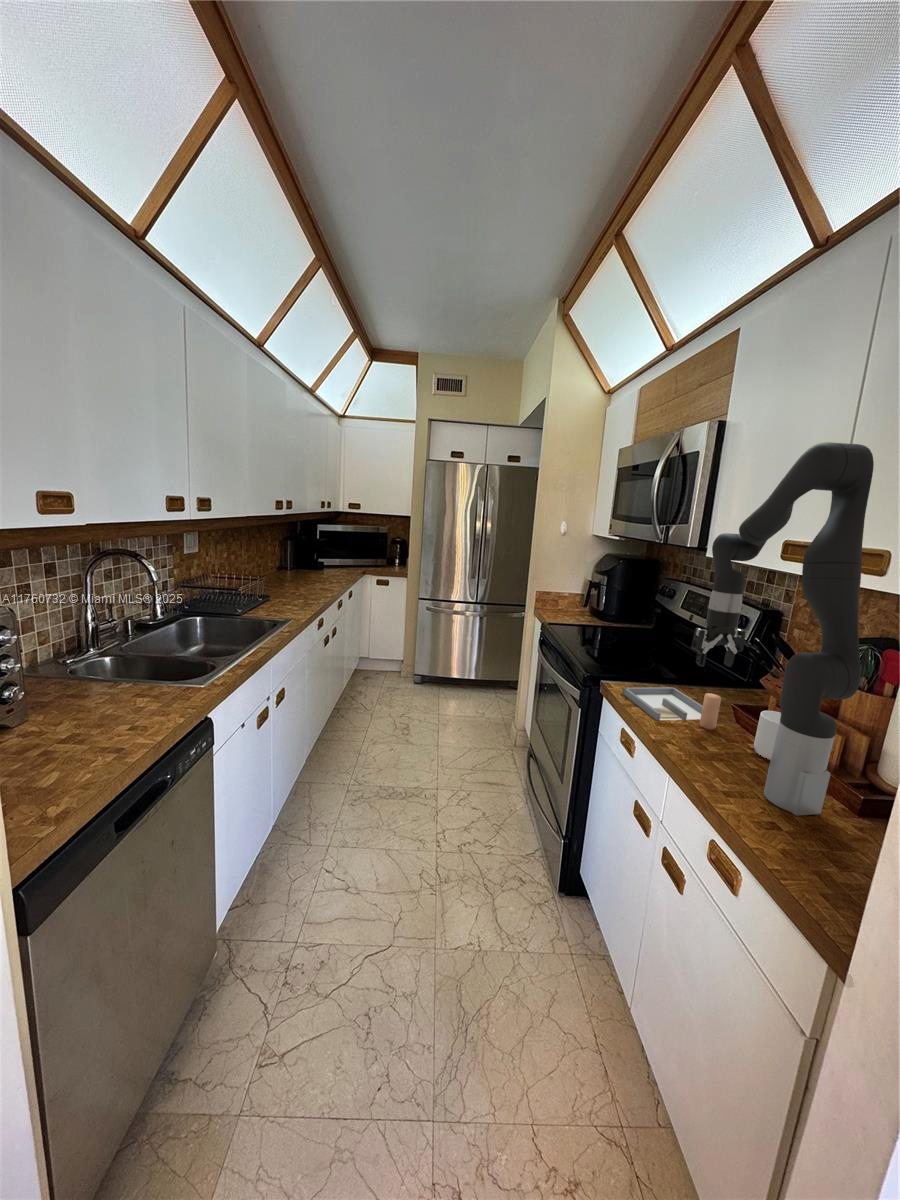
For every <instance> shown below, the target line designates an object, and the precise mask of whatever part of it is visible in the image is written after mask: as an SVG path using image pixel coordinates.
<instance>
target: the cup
mask: <svg viewBox="0 0 900 1200" xmlns="http://www.w3.org/2000/svg"><path fill="white" fill-rule="evenodd" d="M780 718H781V711H780V712H779V711H776V710H775V711H774V710H763V711H761V712H760V715H759V720H758V723H757V728H756V733H755V739H754V741H753V742H754V743H753V750H754V751H755V753H756V754H757V753H758V754H757V755H759V756H760V755H761V757H763V758H764V759H766V758H767V760H769V761H771V757H772V753H773V748H774V744H775V739H776V735H777V731H778V726H779V722H780Z"/></svg>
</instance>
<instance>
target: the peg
mask: <svg viewBox="0 0 900 1200" xmlns="http://www.w3.org/2000/svg"><path fill="white" fill-rule="evenodd" d="M721 702H722V697H721V696H720V695H718V694H715V693H709V692H707V693H705V694H704V697H703V703H702V706H703V708H702V713H701V718H700V719H699V726H700V727H701V728H704V729H707V730H716V729H717V728H716V727H717V721H718V717H719V711H720V708H721V707H720V705H721Z"/></svg>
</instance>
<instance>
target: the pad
mask: <svg viewBox="0 0 900 1200" xmlns="http://www.w3.org/2000/svg"><path fill="white" fill-rule="evenodd" d="M654 709H655V710H656V711H658V712H659V713H660V718H679V717H678V716H677V715H676V714H674V713H673V712H671V711H670V710H669V709H667V708H654Z"/></svg>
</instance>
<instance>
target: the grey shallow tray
mask: <svg viewBox="0 0 900 1200" xmlns="http://www.w3.org/2000/svg"><path fill="white" fill-rule="evenodd" d="M621 694H622V695H624V696H625V697H626V698H627V699H629V700H630V701H631V702H632V703H634V704H635V705H636V706H638V707H639V708H640V709H641V710H643V711H644V712H645V713H646V714H648V715H649V716H650V717H651V718H652V719H654V720H655V721H691V720H699V721H700V718H701V713H702V708H703V704H701V703H699V702H697V701H696V700H694V699H693V698H691V697H690V696H688V695H686V694H685V693H683V692H681V691H680V690H679V689H677V688H676V687H674V686H672V687H671V686H669V687H668V686H667V687H666V686H665V687H660V686H659V687H653V686H651V687H646V686H645V687H623V689H622V693H621ZM654 708H667V709H669V710H670V711H671V712H673V713H674V714H676V715H677V716H678V717H679V718H660V713H659V712H658V711H656V710H655V709H654Z"/></svg>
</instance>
